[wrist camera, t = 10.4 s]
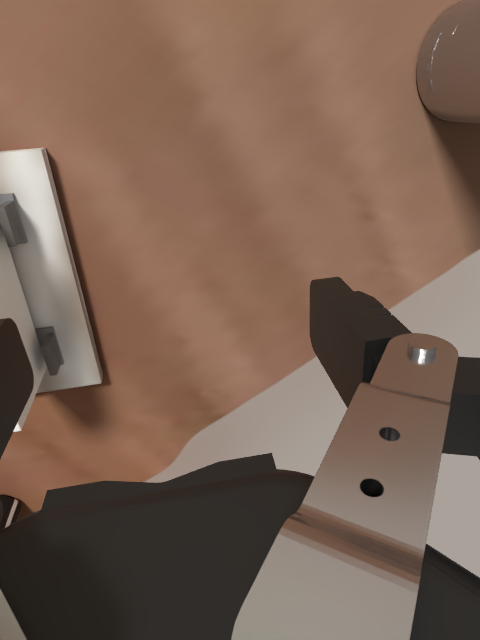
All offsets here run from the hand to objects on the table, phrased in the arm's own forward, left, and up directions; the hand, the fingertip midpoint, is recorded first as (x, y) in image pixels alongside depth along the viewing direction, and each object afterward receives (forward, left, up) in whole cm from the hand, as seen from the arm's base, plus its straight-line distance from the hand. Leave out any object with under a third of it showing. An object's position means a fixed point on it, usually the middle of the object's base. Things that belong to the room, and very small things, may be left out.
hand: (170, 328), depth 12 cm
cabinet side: (+14, +8, -28) cm, 33 cm away
